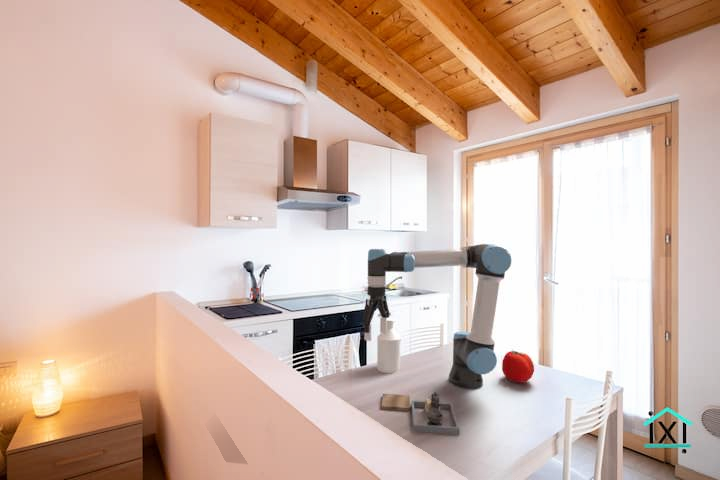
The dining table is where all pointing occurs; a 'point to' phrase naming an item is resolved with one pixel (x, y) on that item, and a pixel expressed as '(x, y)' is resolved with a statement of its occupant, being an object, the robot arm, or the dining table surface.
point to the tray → (431, 427)
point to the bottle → (388, 350)
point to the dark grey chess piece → (435, 411)
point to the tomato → (517, 367)
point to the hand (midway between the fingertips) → (375, 336)
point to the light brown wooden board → (396, 402)
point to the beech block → (428, 404)
